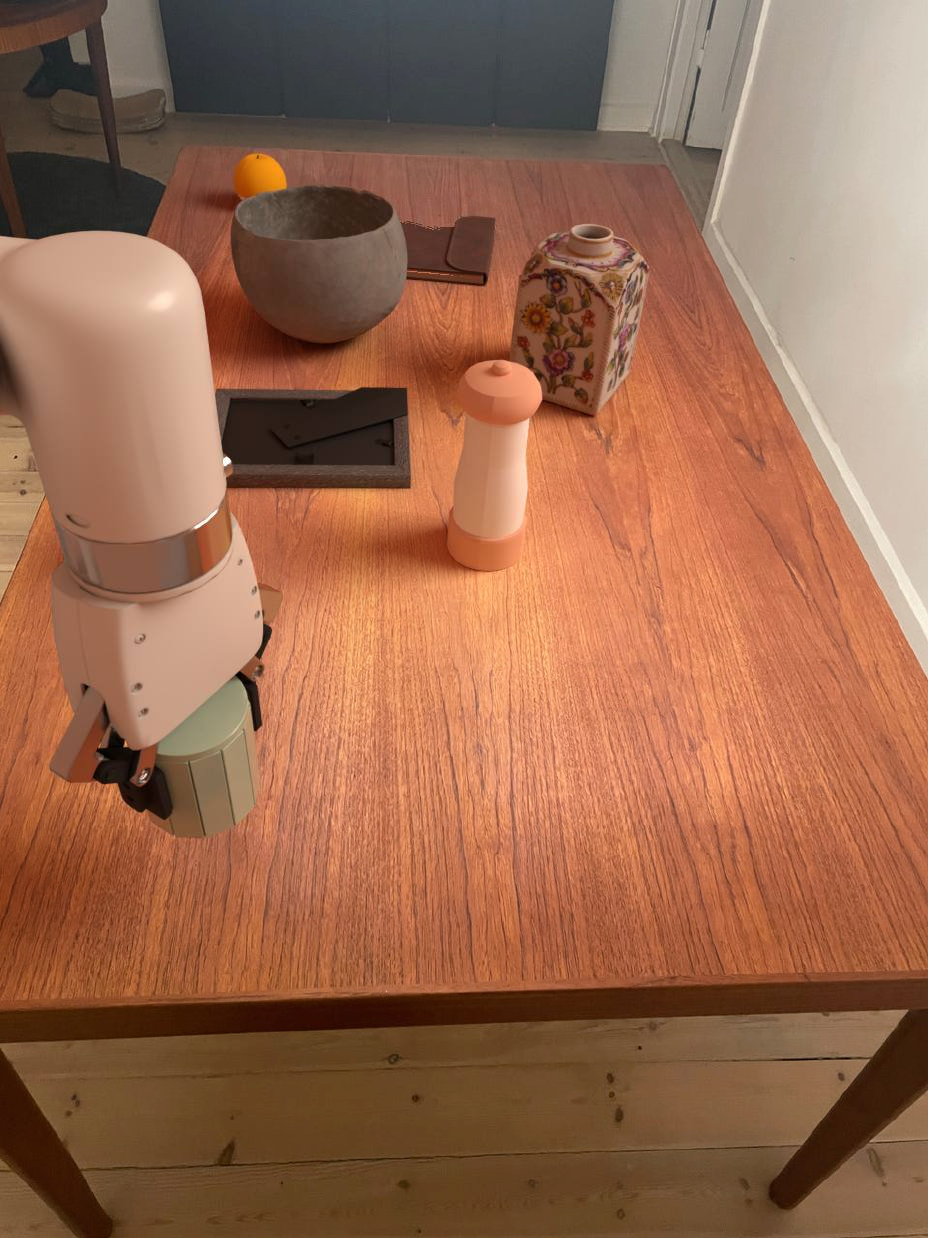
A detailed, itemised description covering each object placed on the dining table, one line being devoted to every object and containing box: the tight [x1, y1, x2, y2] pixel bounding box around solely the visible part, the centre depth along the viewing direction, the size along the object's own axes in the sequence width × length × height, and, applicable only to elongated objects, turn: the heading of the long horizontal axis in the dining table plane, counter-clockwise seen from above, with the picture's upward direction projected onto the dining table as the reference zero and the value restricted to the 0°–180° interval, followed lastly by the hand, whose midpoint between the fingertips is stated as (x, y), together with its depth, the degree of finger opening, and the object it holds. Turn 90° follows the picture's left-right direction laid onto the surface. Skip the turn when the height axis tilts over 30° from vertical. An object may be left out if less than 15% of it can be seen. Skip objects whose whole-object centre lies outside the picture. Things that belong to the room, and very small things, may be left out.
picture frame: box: [215, 386, 412, 489], centre depth 96 cm, size 16×2×21 cm
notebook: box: [400, 215, 498, 286], centre depth 132 cm, size 15×20×2 cm
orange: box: [232, 153, 288, 198], centre depth 139 cm, size 8×8×8 cm
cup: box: [126, 675, 262, 840], centre depth 54 cm, size 7×10×8 cm
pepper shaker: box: [446, 359, 543, 572], centre depth 79 cm, size 7×7×19 cm
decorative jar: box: [508, 223, 651, 417], centre depth 102 cm, size 12×12×18 cm
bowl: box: [230, 184, 407, 344], centre depth 109 cm, size 20×20×15 cm
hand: (196, 758), depth 54 cm, fingers closed on cup, 6 cm apart
